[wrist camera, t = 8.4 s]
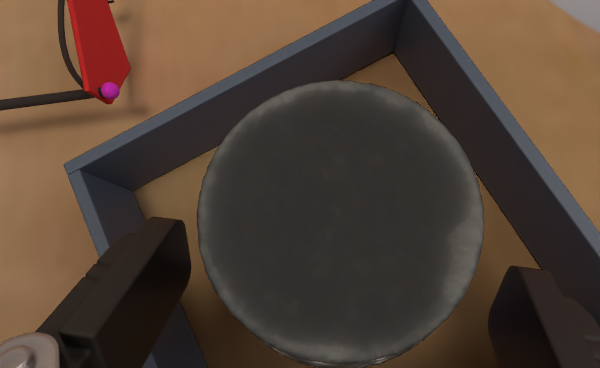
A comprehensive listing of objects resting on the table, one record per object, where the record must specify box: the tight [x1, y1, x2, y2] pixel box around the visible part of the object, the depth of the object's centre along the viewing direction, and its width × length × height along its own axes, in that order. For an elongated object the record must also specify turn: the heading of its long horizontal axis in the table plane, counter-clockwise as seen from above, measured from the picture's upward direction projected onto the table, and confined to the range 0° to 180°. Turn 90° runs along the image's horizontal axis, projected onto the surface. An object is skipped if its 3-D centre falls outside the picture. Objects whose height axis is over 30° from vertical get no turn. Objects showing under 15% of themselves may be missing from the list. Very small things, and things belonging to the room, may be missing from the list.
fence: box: [64, 0, 600, 368], centre depth 15 cm, size 15×15×4 cm
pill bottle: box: [197, 80, 484, 368], centre depth 12 cm, size 6×6×11 cm
